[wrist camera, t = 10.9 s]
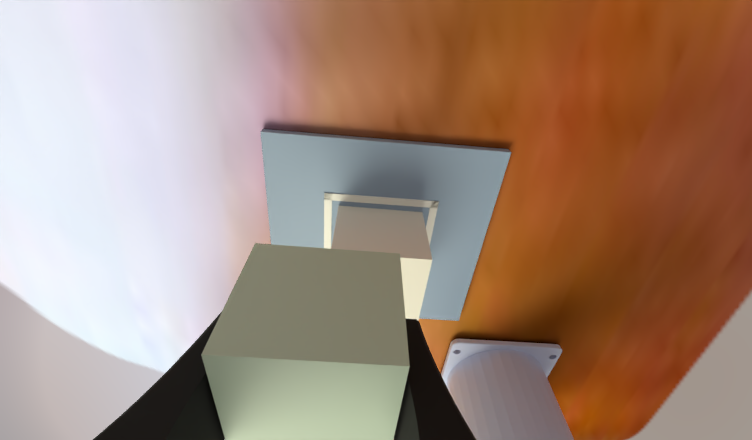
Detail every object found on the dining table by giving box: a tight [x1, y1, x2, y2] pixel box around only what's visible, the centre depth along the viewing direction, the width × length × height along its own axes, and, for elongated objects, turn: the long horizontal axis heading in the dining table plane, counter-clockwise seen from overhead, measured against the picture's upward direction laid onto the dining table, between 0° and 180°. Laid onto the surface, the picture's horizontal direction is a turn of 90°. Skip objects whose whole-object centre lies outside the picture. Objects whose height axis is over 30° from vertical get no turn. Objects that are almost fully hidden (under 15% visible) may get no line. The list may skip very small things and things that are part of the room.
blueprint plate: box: [261, 129, 511, 321], centre depth 20 cm, size 12×12×1 cm
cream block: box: [331, 206, 432, 320], centre depth 18 cm, size 4×4×4 cm
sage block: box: [201, 243, 410, 440], centre depth 11 cm, size 4×4×4 cm
